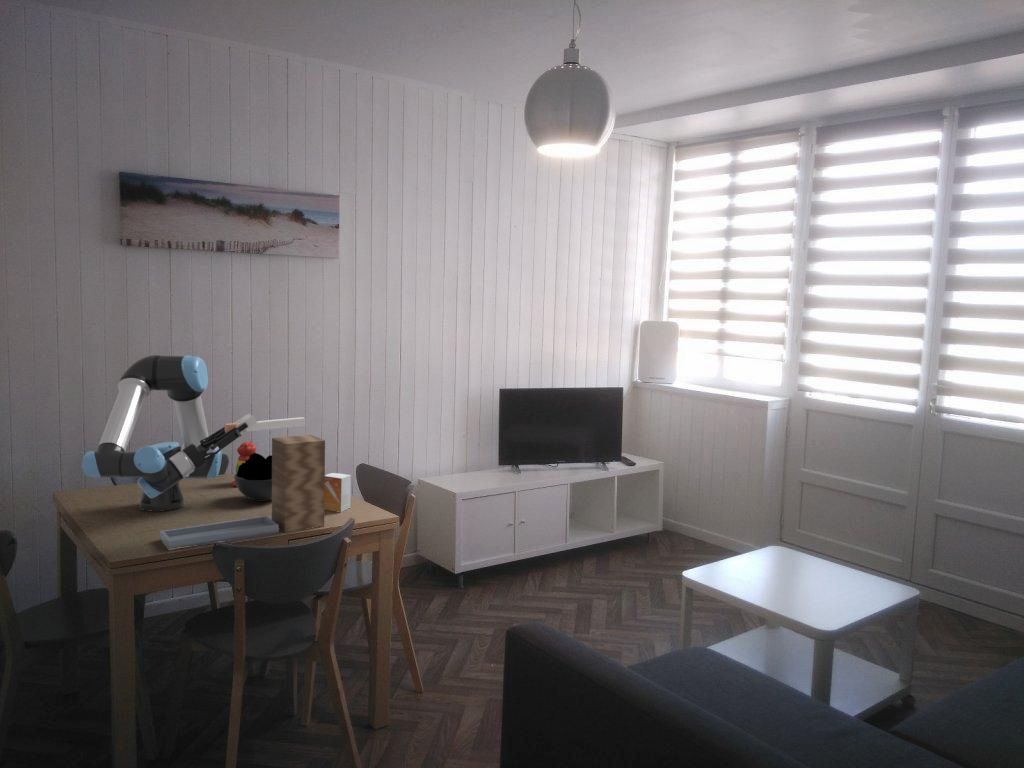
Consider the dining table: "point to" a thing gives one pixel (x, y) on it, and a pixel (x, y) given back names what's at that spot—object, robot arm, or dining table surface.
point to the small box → (337, 492)
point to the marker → (270, 424)
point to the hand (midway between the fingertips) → (252, 417)
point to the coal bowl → (255, 477)
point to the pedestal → (298, 482)
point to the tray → (219, 532)
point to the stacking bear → (244, 455)
